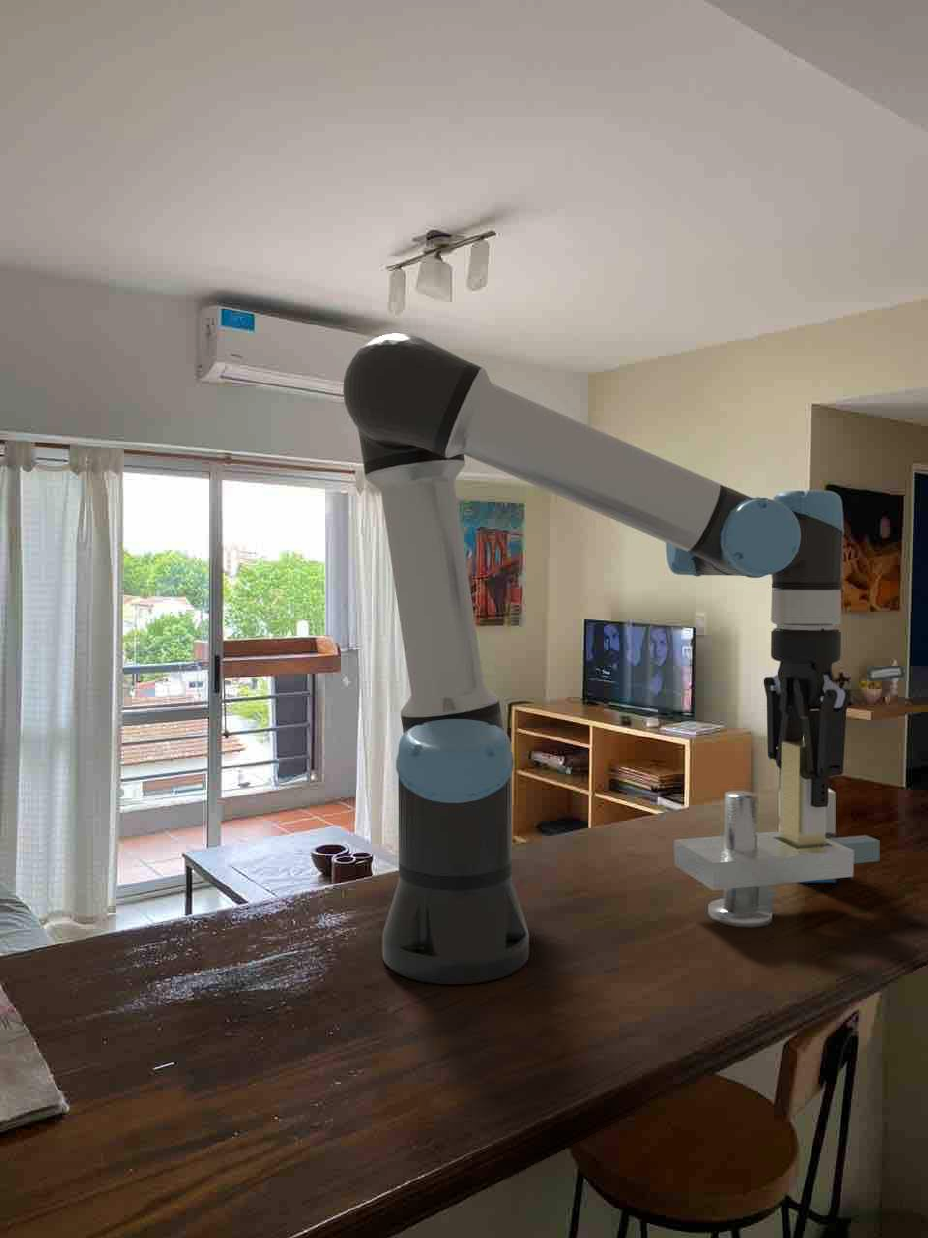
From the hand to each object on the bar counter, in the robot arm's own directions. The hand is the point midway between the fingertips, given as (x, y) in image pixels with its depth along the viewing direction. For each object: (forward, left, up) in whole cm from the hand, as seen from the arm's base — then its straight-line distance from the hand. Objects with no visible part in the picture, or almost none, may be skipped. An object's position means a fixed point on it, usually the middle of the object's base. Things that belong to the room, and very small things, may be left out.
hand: (802, 828), depth 109 cm
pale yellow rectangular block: (0, 0, -2) cm, 2 cm away
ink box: (+8, +11, -10) cm, 17 cm away
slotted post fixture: (-2, 0, -10) cm, 10 cm away
